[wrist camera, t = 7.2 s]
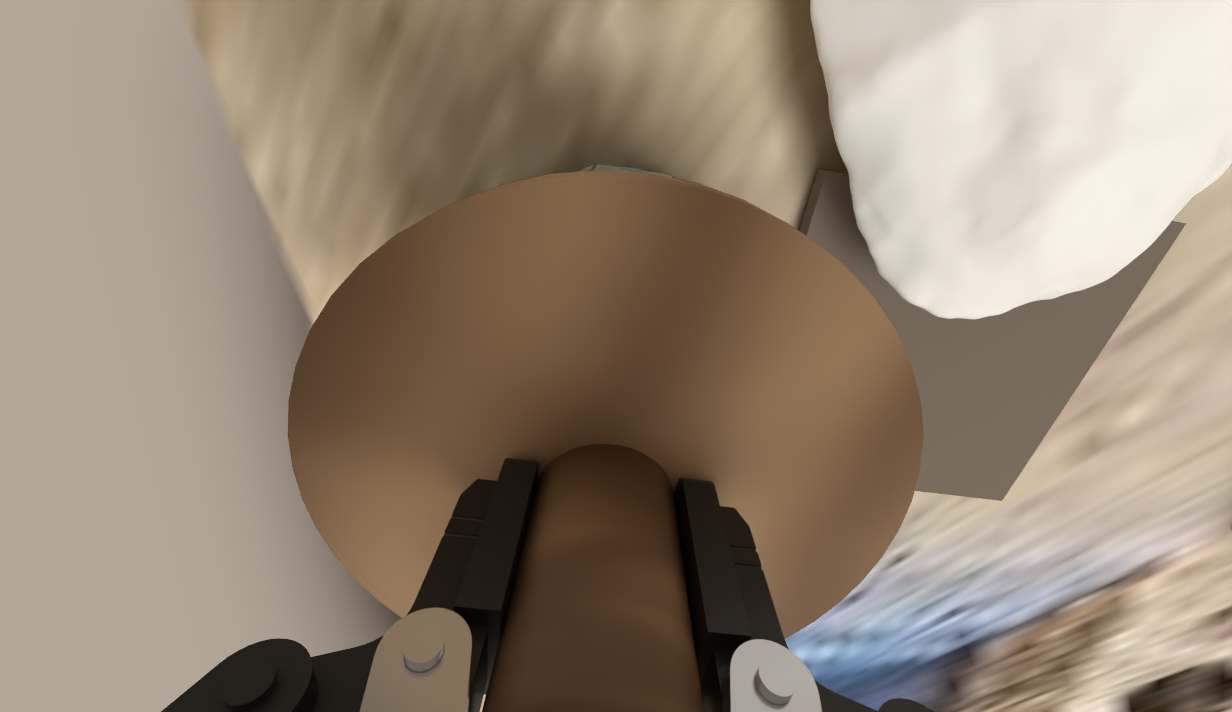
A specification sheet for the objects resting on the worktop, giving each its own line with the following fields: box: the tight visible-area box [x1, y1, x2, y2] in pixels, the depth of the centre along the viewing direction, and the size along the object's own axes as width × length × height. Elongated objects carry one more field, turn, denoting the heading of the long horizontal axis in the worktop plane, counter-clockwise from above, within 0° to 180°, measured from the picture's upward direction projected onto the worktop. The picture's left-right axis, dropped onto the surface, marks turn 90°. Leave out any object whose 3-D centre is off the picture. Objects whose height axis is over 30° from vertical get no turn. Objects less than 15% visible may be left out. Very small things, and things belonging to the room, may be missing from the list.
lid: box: [288, 170, 924, 712], centre depth 9 cm, size 14×14×6 cm
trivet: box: [799, 169, 1186, 501], centre depth 24 cm, size 16×16×1 cm
